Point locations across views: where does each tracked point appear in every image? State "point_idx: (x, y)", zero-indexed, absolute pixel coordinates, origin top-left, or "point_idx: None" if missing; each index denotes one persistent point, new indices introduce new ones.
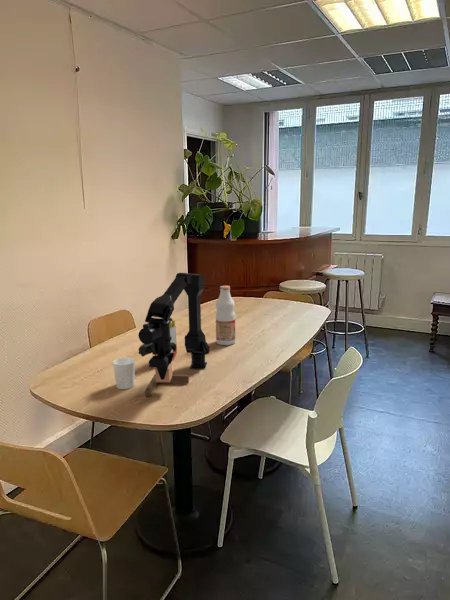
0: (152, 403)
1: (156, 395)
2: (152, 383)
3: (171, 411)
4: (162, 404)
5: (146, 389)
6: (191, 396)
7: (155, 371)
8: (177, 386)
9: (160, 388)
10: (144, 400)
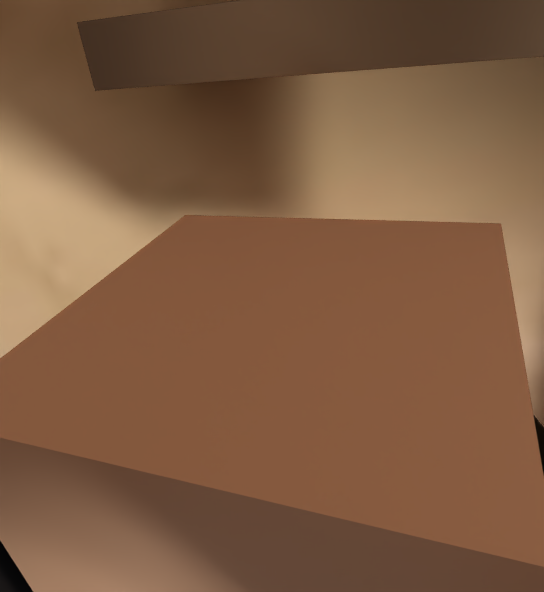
0: (48, 162)
1: (233, 156)
2: (336, 70)
3: (11, 345)
4: (71, 266)
5: (84, 34)
6: None
7: (11, 353)
8: (532, 376)
9: (473, 157)
10: (68, 31)
